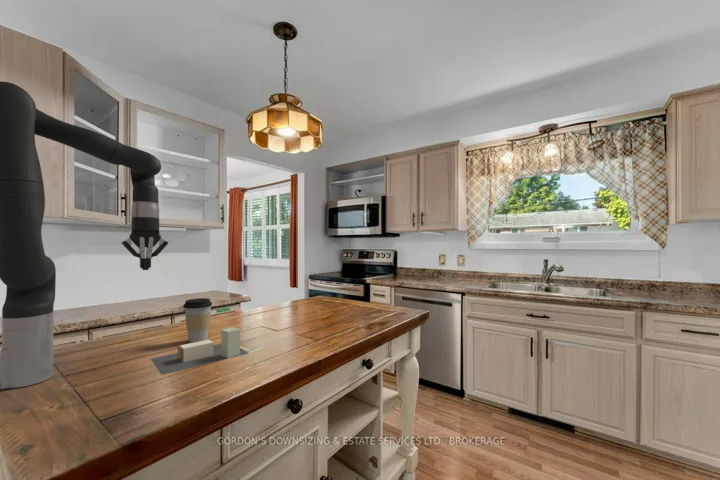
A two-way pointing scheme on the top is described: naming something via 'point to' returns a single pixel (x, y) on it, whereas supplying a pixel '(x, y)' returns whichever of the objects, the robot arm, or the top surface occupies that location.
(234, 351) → the sage block
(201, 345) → the cream block
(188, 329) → the coffee cup
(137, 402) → the top surface
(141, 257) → the robot arm
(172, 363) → the mat
